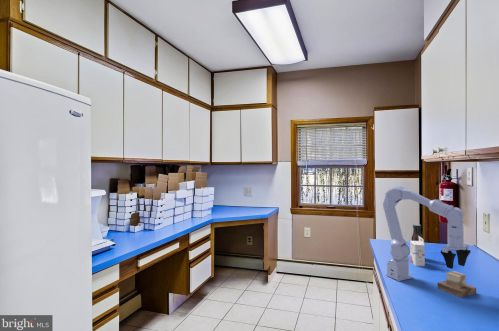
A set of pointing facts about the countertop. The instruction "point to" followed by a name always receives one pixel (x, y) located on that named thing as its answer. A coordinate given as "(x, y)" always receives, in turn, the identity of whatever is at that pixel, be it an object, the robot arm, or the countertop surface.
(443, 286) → the walnut block
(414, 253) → the ink cartridge box
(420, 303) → the countertop surface
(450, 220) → the robot arm
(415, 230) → the sauce bottle
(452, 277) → the maple cube
